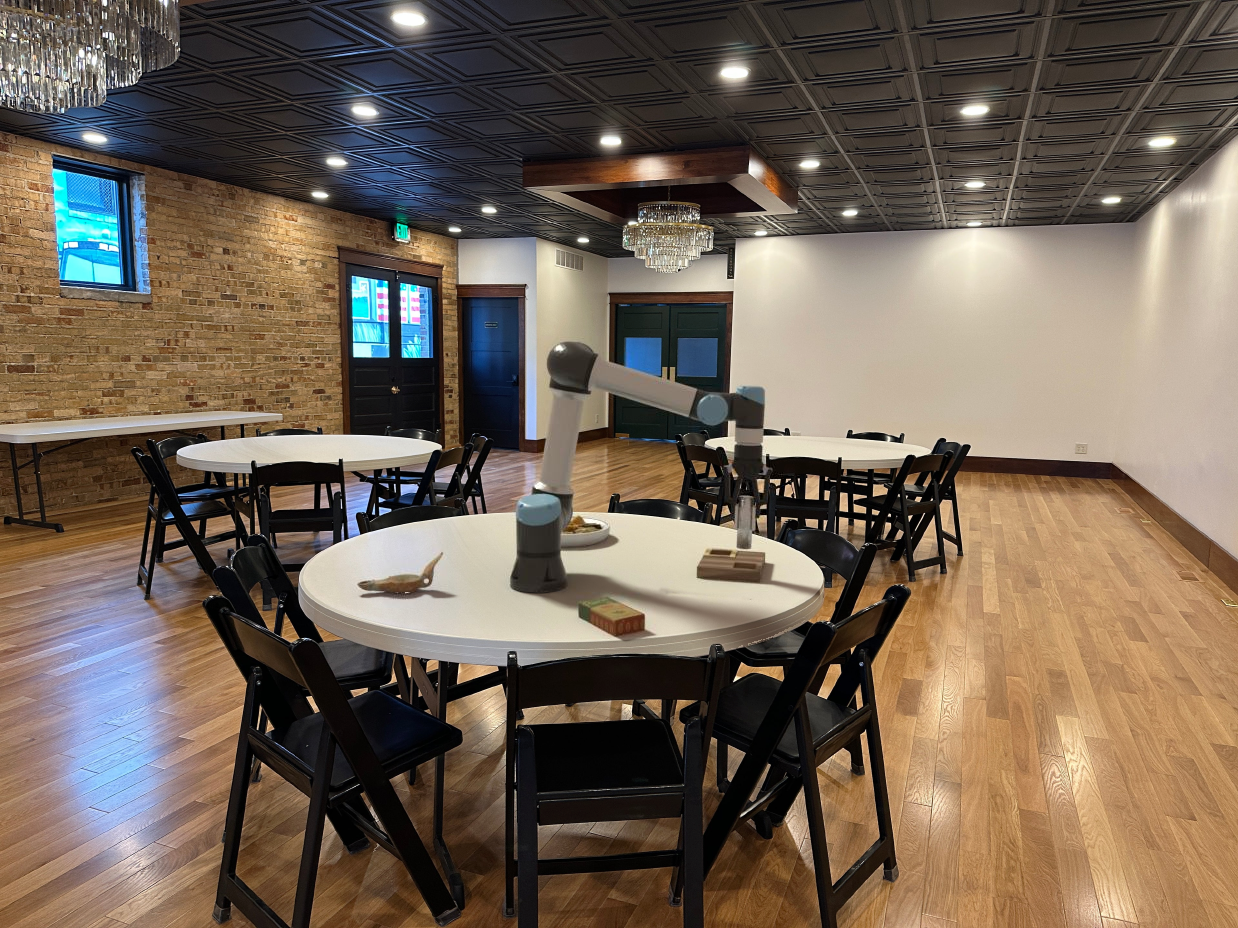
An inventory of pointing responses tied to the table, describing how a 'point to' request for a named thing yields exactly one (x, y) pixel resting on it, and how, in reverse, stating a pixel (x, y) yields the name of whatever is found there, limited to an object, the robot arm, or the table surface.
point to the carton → (611, 616)
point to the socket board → (731, 565)
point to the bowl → (584, 532)
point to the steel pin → (744, 522)
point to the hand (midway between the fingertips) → (744, 528)
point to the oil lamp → (402, 581)
